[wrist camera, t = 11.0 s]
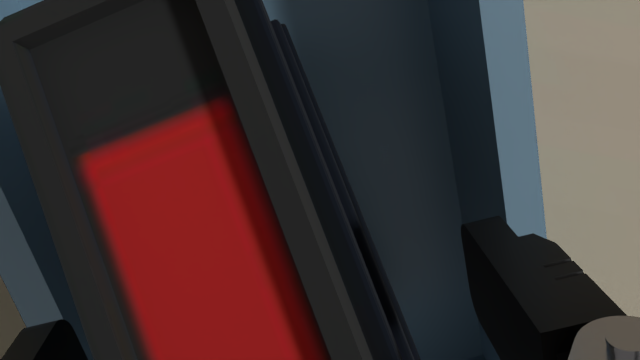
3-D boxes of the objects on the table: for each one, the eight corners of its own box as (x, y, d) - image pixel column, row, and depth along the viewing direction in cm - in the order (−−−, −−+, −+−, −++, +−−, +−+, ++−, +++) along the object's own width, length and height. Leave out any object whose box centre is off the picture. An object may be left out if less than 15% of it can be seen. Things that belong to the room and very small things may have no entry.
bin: (-48, -109, 17) (-213, -147, 11) (418, -228, 16) (490, -329, 11) (179, 429, 24) (148, 569, 19) (501, 353, 24) (569, 471, 18)
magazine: (341, 428, 21) (258, 932, 6) (219, 104, 22) (-91, -107, 8) (436, 393, 21) (579, 838, 6) (307, 68, 22) (165, -226, 7)
